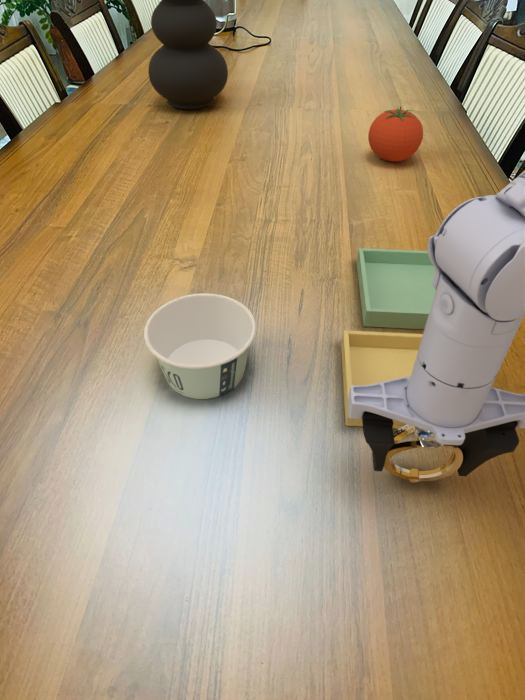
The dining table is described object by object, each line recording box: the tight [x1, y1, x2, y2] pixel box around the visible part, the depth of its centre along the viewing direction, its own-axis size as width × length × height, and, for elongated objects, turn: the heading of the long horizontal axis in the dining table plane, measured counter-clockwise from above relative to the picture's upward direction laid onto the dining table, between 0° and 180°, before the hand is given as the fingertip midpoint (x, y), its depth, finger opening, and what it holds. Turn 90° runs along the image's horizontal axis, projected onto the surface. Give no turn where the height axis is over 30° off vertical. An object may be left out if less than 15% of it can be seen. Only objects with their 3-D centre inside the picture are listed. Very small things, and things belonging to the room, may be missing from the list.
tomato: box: [367, 106, 424, 163], centre depth 98 cm, size 10×10×10 cm
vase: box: [148, 0, 229, 110], centre depth 112 cm, size 18×18×35 cm
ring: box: [383, 424, 463, 484], centre depth 46 cm, size 7×3×8 cm, turn 80°
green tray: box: [356, 247, 436, 330], centre depth 68 cm, size 14×14×3 cm
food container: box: [143, 292, 257, 400], centre depth 57 cm, size 12×12×6 cm
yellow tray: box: [340, 329, 424, 431], centre depth 56 cm, size 12×12×3 cm
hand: (417, 464), depth 47 cm, fingers closed on ring, 7 cm apart
